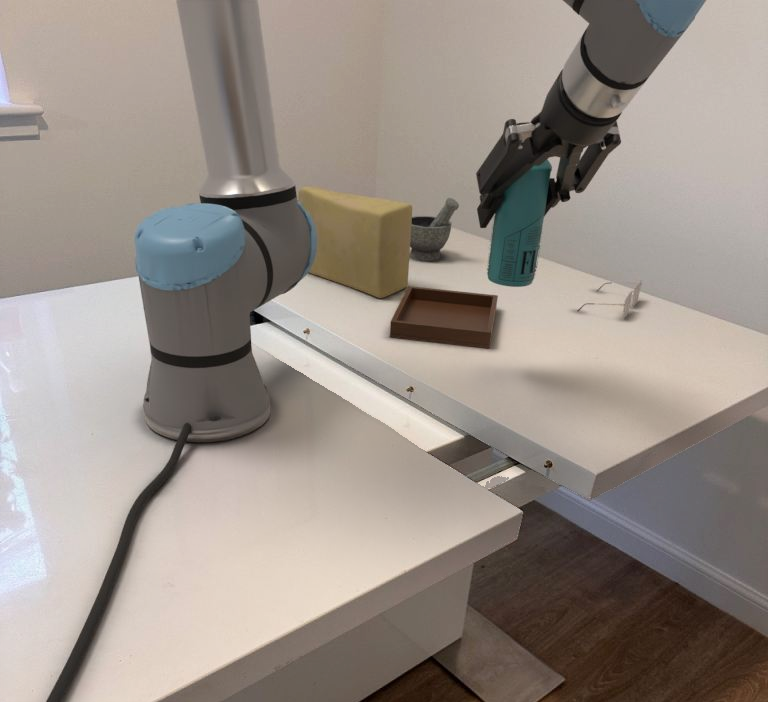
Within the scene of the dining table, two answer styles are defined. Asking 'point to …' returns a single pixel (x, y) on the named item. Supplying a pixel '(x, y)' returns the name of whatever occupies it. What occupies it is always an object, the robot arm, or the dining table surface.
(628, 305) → the eyeglasses
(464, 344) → the tray
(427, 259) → the mortar and pestle
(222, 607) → the dining table surface
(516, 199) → the beverage bottle
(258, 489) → the dining table surface
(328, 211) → the cheese
